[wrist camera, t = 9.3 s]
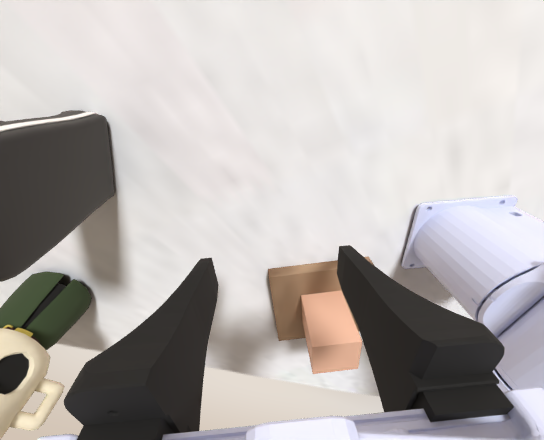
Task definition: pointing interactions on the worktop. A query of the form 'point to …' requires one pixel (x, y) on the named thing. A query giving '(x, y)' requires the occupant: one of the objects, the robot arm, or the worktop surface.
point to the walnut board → (300, 293)
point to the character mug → (34, 344)
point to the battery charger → (49, 182)
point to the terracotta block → (330, 332)
